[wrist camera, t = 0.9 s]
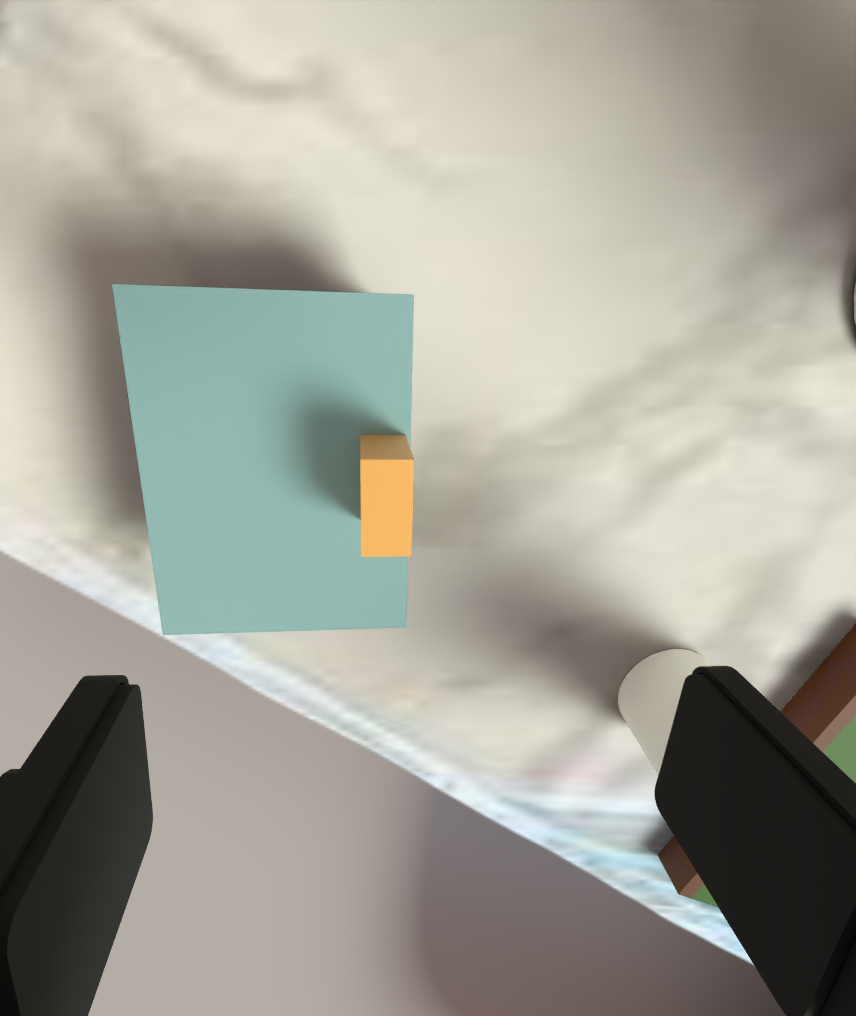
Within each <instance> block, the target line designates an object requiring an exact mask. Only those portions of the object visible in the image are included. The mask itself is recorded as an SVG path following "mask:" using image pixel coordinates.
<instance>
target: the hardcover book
mask: <svg viewBox="0 0 856 1016" xmlns="http://www.w3.org/2000/svg"><path fill="white" fill-rule="evenodd" d="M781 713H782V714H783V715H784V716H785V717H786V718H787V719H788V720H789V721H790V722H791V723H792V724H793V725H795V726H796V727H797V728H798V729H799V730H800V731H801V732H802V733H803V734H804V735H805V736H806V737H807V738H808V739H809V740H810V741H811V742H812V743H814V744H815V745H816V746H817V747H818V748H819V749H820V750H821V751H822V752H823V753H824V754H825V755H826V756H827V757H828V758H829V759H830V760H831V761H833V762H834V763H835V764H836V765H837V766H838V767H839V768H840V769H841V770H842V771H843V772H844V773H845V774H846V775H847V776H848V777H849V778H850V779H851V780H853V781H854V782H855V783H856V624H855V625H854V627H853V628H852V629H851V630H850V631H849V632H848V634H847V635H846V636H845V637H844V638H843V639H842V641H841V642H840V643H839V644H838V645H837V647H836V648H835V649H834V650H833V651H832V652H831V654H830V655H829V656H828V657H827V658H826V659H825V661H824V662H823V663H822V664H821V665H820V666H819V668H818V669H817V670H816V671H815V672H814V673H813V675H812V676H811V677H810V678H809V679H808V680H807V682H806V683H805V684H804V685H803V686H802V687H801V689H800V690H799V691H798V692H797V693H796V694H795V696H794V697H793V698H792V699H791V700H790V701H789V703H788V704H787V705H786V706H785V707H784V708H783V710H782V711H781ZM658 857H659V858H660V860H661V862H662V864H663V866H664V868H665V870H666V872H667V874H668V875H669V877H670V879H671V881H672V883H673V885H674V887H675V889H676V891H677V892H678V894H679V895H682V896H685V897H688V898H692V899H695V900H698V901H701V902H704V903H707V904H710V905H713V906H716V907H718V906H717V904H716V902H715V901H714V899H713V897H712V896H711V894H710V893H709V891H708V889H707V888H706V886H705V885H704V883H703V881H702V880H701V878H700V876H699V875H698V873H697V872H696V870H695V868H694V867H693V865H692V863H691V862H690V860H689V859H688V857H687V855H686V854H685V852H684V851H683V849H682V847H681V846H680V844H679V842H678V841H677V839H676V838H675V836H674V837H673V838H672V839H671V841H670V842H669V843H668V844H667V845H666V846H665V848H664V849H663V850H662V851H661V852H660V853H659V855H658Z"/></svg>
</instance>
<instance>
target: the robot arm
mask: <svg viewBox="0 0 856 1016" xmlns="http://www.w3.org/2000/svg"><path fill="white" fill-rule="evenodd" d="M854 319H855V323H856V284H855V291H854ZM655 800H656V804H657V807H658V809H659V811H660V813H661V815H662V817H663V818H664V820H665V821H666V823H667V825H668V826H669V828H670V829H671V831H672V833H673V834H674V836H675V838H676V839H677V841H678V842H679V844H680V846H681V847H682V849H683V851H684V852H685V854H686V855H687V857H688V859H689V860H690V862H691V863H692V865H693V867H694V868H695V870H696V872H697V873H698V875H699V876H700V878H701V880H702V881H703V883H704V885H705V886H706V888H707V889H708V891H709V893H710V894H711V896H712V897H713V899H714V901H715V902H716V904H717V906H718V907H719V909H720V910H721V912H722V914H723V915H724V917H725V919H726V920H727V922H728V923H729V925H730V927H731V928H732V930H733V931H734V933H735V935H736V936H737V938H738V940H739V941H740V943H741V944H742V946H743V948H744V949H745V951H746V953H747V954H748V956H749V957H750V959H751V961H752V962H753V964H754V965H755V967H756V969H757V970H758V972H759V974H760V975H761V977H762V978H763V980H764V981H765V983H766V985H767V987H768V988H769V990H770V991H771V993H772V995H773V996H774V998H775V999H776V1001H777V1003H778V1004H779V1006H780V1007H781V1009H782V1010H783V1012H784V1013H785V1014H786V1015H787V1016H856V783H855V782H854V781H853V780H851V779H850V778H849V777H848V776H847V775H846V774H845V773H844V772H843V771H842V770H841V769H840V768H839V767H838V766H837V765H836V764H835V763H834V762H833V761H831V760H830V759H829V758H828V757H827V756H826V755H825V754H824V753H823V752H822V751H821V750H820V749H819V748H818V747H817V746H816V745H815V744H814V743H812V742H811V741H810V740H809V739H808V738H807V737H806V736H805V735H804V734H803V733H802V732H801V731H800V730H799V729H798V728H797V727H796V726H795V725H793V724H792V723H791V722H790V721H789V720H788V719H787V718H786V717H785V716H784V715H783V714H782V713H781V712H780V711H779V710H778V709H777V708H776V707H774V706H773V705H772V704H771V703H770V702H769V701H768V700H767V699H766V698H765V697H764V696H763V695H762V694H761V693H760V692H759V691H758V690H757V689H756V688H754V687H753V686H752V685H751V684H750V683H749V682H748V681H747V680H746V679H745V678H744V677H743V676H742V675H741V674H740V673H739V672H738V671H737V670H735V669H734V668H732V667H729V666H700V667H697V668H695V670H694V671H693V672H692V674H691V675H688V676H687V677H686V678H685V681H684V684H683V687H682V691H681V695H680V698H679V702H678V706H677V709H676V713H675V717H674V720H673V724H672V728H671V731H670V735H669V739H668V742H667V746H666V750H665V753H664V757H663V761H662V764H661V768H660V772H659V775H658V779H657V783H656V786H655ZM152 822H153V812H152V801H151V791H150V781H149V770H148V760H147V750H146V740H145V730H144V720H143V711H142V700H141V691H140V687H139V685H129V683H128V679H127V677H126V676H124V675H104V676H103V675H102V676H85V677H83V678H82V679H81V680H80V681H79V683H78V684H77V685H76V687H75V688H74V690H73V691H72V693H71V694H70V696H69V698H68V699H67V700H66V702H65V703H64V705H63V706H62V708H61V709H60V711H59V712H58V714H57V715H56V717H55V718H54V720H53V721H52V722H51V724H50V726H49V727H48V728H47V730H46V731H45V733H44V734H43V736H42V737H41V739H40V740H39V742H38V743H37V745H36V746H35V748H34V749H33V751H32V752H31V754H30V755H29V757H28V758H27V759H26V761H25V763H24V764H23V765H22V767H21V768H20V769H11V770H9V771H7V772H5V773H4V774H2V776H1V777H0V1016H88V1013H89V1011H90V1008H91V1005H92V1002H93V999H94V997H95V994H96V991H97V988H98V985H99V982H100V979H101V977H102V973H103V971H104V968H105V965H106V962H107V959H108V957H109V954H110V951H111V948H112V945H113V942H114V940H115V937H116V934H117V931H118V928H119V925H120V922H121V920H122V917H123V914H124V911H125V908H126V905H127V902H128V899H129V897H130V894H131V890H132V888H133V885H134V882H135V880H136V877H137V874H138V871H139V868H140V865H141V862H142V860H143V857H144V854H145V851H146V848H147V845H148V842H149V839H150V835H151V831H152Z"/></svg>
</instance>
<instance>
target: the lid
mask: <svg viewBox="0 0 856 1016" xmlns="http://www.w3.org/2000/svg"><path fill="white" fill-rule="evenodd" d="M112 289H113V295H114V302H115V309H116V316H117V323H118V330H119V337H120V344H121V350H122V357H123V364H124V371H125V378H126V385H127V392H128V398H129V405H130V412H131V419H132V426H133V433H134V440H135V446H136V453H137V460H138V467H139V474H140V481H141V488H142V495H143V501H144V508H145V515H146V522H147V529H148V536H149V543H150V549H151V556H152V563H153V570H154V577H155V584H156V591H157V597H158V604H159V611H160V618H161V625H162V632H163V635H179V634H211V633H244V632H276V631H308V630H341V629H373V628H406V606H407V563H408V556H411V555H412V516H413V478H414V458H413V455H412V452H411V449H410V436H411V394H412V351H413V309H414V295H411V294H383V293H354V292H326V291H298V290H269V289H241V288H213V287H185V286H156V285H128V284H112Z"/></svg>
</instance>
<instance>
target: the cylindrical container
mask: <svg viewBox="0 0 856 1016" xmlns="http://www.w3.org/2000/svg"><path fill="white" fill-rule="evenodd" d="M700 666H712V665H711V664H710V663H709V662H708V661H707V660H706V659H705V658H704V657H703V656H701V655H700V654H698V653H696V652H693V651H691V650H686V649H669V650H664V651H660V652H658V653H655V654H652V655H650V656H649V657H647V658H645V659H643V660H642V661H641V662H639V663H638V664H637V665H635V666H634V667H633V668H632V669H631V671H630V672H629V673H628V674H627V675H626V677H625V679H624V680H623V682H622V684H621V687H620V689H619V694H618V707H619V710H620V713H621V715H622V716H623V718H624V720H625V721H626V723H627V725H628V726H629V728H630V730H631V731H632V733H633V735H634V736H635V738H636V739H637V741H638V743H639V744H640V746H641V748H642V749H643V751H644V752H645V754H646V756H647V757H648V759H649V761H650V762H651V764H652V765H653V767H654V769H655V770H656V772H657V774H658V775H659V772H660V768H661V764H662V761H663V757H664V753H665V750H666V746H667V742H668V739H669V735H670V731H671V728H672V724H673V720H674V717H675V713H676V709H677V706H678V702H679V698H680V695H681V691H682V687H683V684H684V681H685V678H686V677H687V676H688V675H691V674H692V672H693V671H694V670H695V668H697V667H700Z"/></svg>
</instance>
